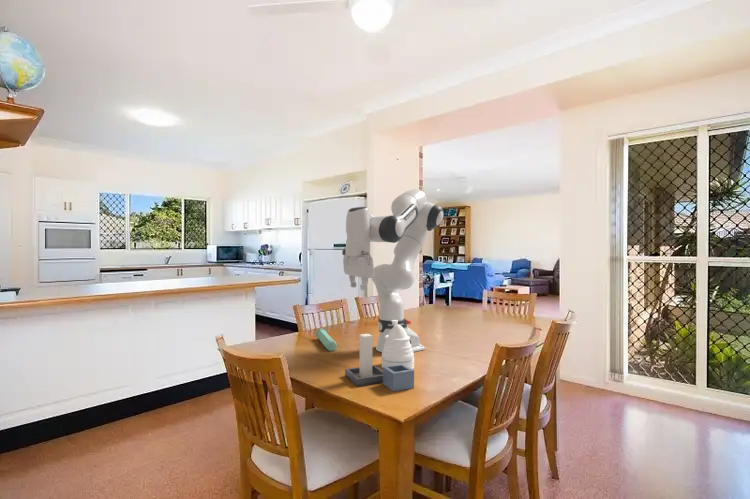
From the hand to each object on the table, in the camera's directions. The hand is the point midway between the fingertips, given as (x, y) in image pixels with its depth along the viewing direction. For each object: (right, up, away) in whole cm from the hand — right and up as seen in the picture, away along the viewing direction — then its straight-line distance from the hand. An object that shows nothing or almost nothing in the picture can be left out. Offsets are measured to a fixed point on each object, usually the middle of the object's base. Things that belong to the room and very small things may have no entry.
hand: (358, 288), depth 145 cm
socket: (+14, -32, -10) cm, 37 cm away
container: (-17, -32, +45) cm, 57 cm away
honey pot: (+15, -32, +11) cm, 37 cm away
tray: (+3, -32, -3) cm, 32 cm away
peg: (+3, -31, -3) cm, 32 cm away
